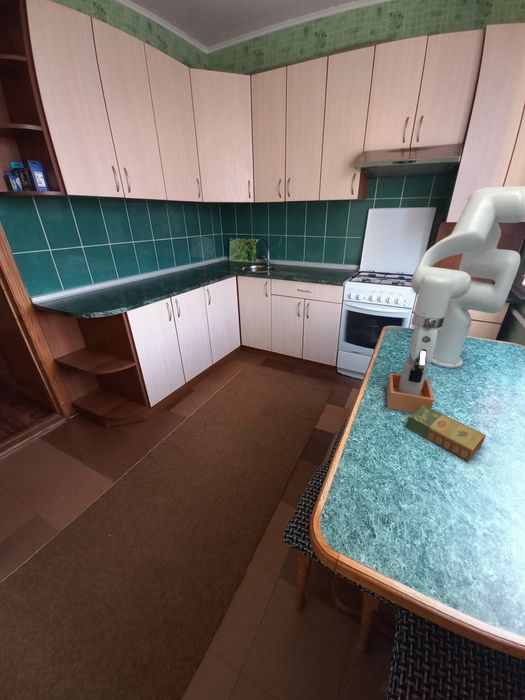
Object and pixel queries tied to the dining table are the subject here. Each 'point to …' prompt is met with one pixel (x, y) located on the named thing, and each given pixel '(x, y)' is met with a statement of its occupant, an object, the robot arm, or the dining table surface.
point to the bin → (407, 396)
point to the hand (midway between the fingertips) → (413, 374)
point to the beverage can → (407, 385)
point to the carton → (446, 432)
